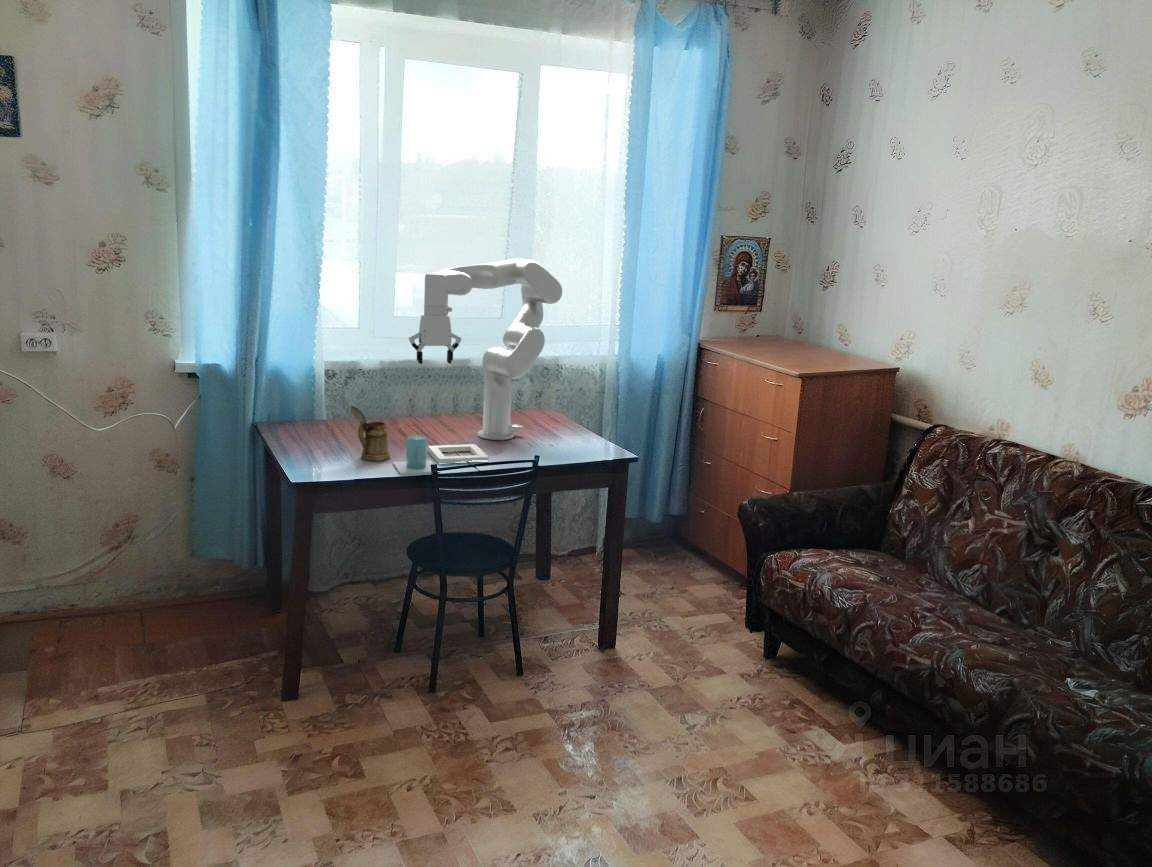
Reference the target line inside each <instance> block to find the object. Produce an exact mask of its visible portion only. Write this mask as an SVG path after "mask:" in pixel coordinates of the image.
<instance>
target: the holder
mask: <svg viewBox="0 0 1152 867" xmlns="http://www.w3.org/2000/svg"><path fill="white" fill-rule="evenodd" d="M454 451H471V452H472V453H473V454H474V455H473V454H472V453H471V452H470V453H471V454H472V455H454V456H453V455H451V456H445V454H444V453H442V452H448V453H455V452H454ZM427 453H429V455H431V457H432V458H433V459H434V460H435V461H436V462H438V463H455V462H461V461H472V460H489V456H488V455H487V454H486V453H485V452H484V451H483V450H482V449H481V448H480V447H479V446H478V445H477V444H476V443H470V444H469V443H468V444H445V445H444V444H443V445H442V444H441V445H428V446H427ZM438 463H437V464H438Z"/></svg>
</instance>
